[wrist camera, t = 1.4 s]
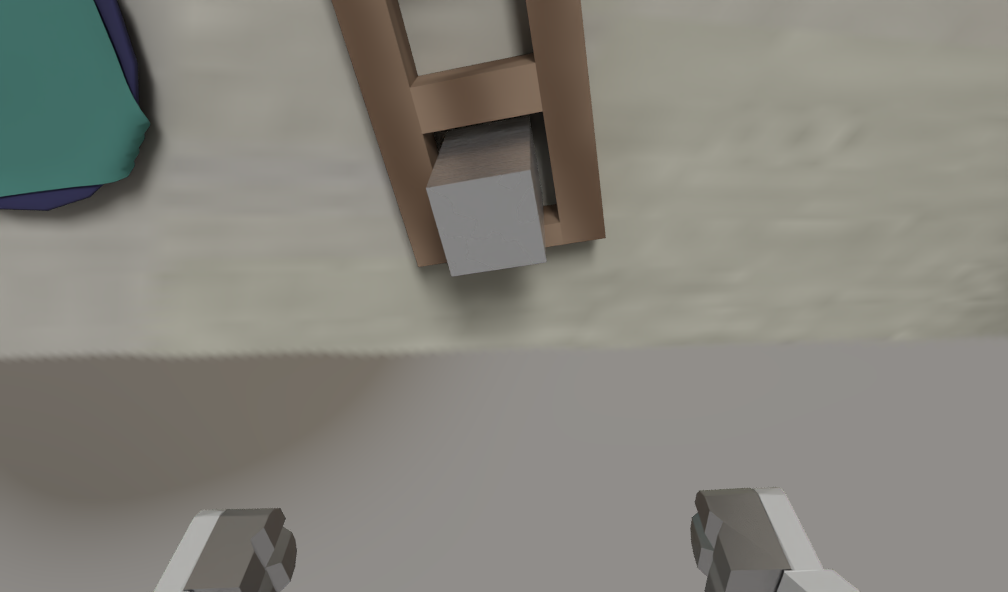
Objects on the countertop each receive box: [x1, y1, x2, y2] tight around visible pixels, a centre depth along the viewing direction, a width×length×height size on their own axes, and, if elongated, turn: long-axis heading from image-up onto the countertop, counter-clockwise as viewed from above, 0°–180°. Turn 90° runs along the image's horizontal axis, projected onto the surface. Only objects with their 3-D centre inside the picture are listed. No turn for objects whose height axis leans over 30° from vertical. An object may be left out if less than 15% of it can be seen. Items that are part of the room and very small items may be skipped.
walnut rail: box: [332, 0, 606, 267], centre depth 26 cm, size 11×26×3 cm, turn 11°
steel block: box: [426, 116, 547, 276], centre depth 28 cm, size 5×5×8 cm
